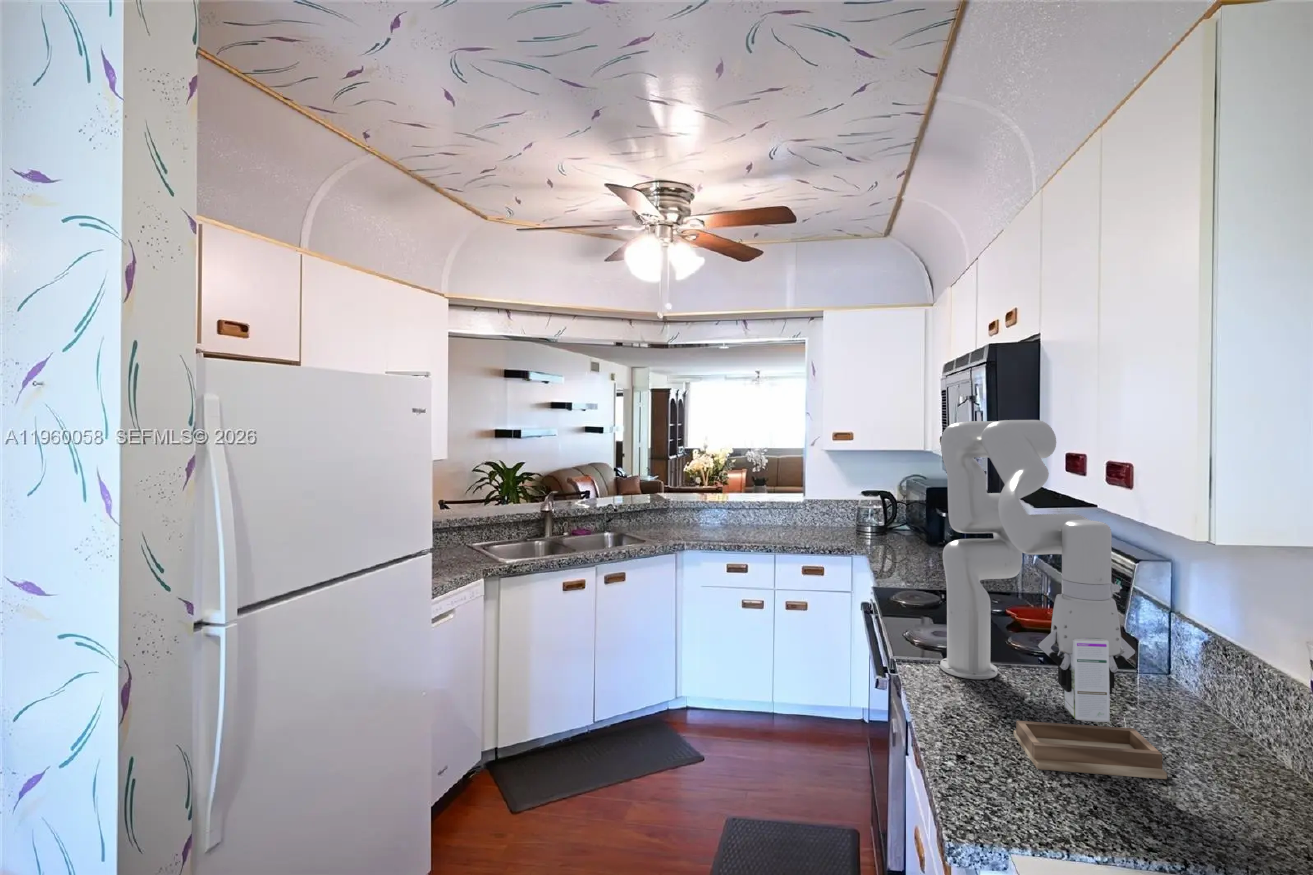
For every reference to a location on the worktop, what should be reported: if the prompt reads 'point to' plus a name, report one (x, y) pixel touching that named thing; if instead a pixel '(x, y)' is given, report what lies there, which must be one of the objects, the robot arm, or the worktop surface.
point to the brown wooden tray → (1089, 749)
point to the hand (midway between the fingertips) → (1085, 689)
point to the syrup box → (1089, 681)
